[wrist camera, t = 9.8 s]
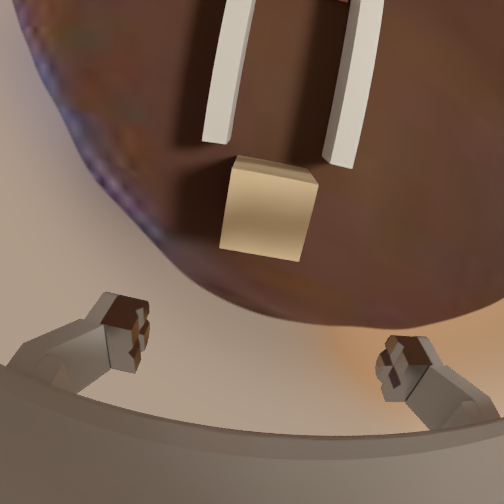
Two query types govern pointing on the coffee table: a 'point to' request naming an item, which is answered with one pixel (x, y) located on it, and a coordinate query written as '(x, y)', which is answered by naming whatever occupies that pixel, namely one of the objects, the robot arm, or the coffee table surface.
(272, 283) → the coffee table surface
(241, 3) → the channel
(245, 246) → the block
